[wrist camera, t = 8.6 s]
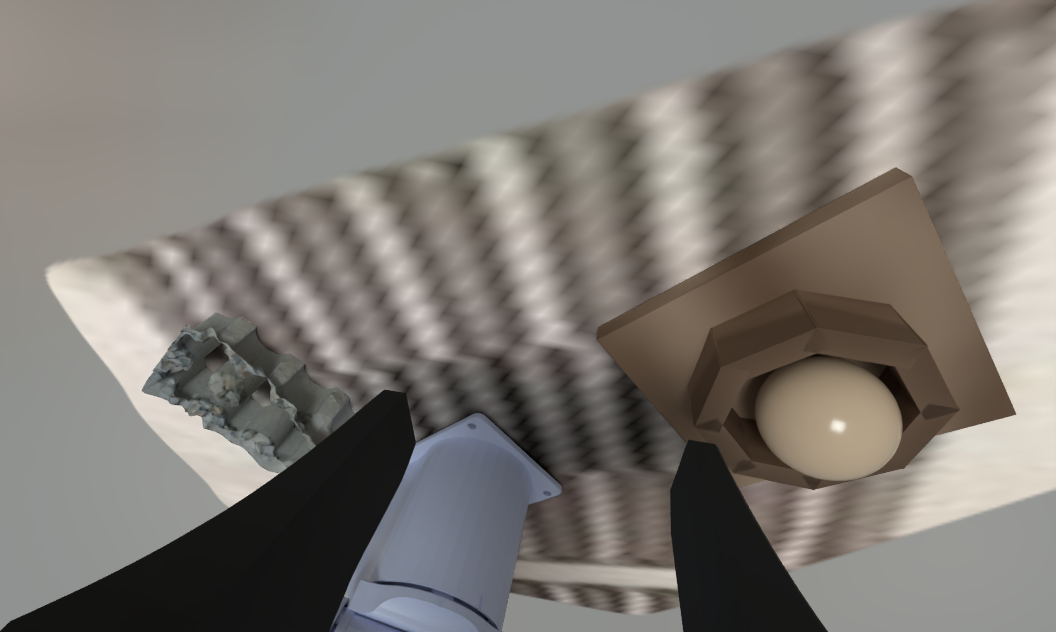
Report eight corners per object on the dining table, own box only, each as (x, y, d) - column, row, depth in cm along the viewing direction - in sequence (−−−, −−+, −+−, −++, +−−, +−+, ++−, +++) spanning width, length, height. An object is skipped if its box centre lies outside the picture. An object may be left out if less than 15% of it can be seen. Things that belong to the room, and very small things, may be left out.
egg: (764, 427, 20) (816, 521, 16) (718, 370, 18) (765, 461, 14) (867, 381, 18) (953, 474, 15) (829, 312, 16) (915, 398, 13)
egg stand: (724, 474, 24) (736, 534, 21) (598, 327, 20) (592, 377, 17) (999, 396, 18) (1067, 466, 15) (895, 167, 14) (961, 204, 11)
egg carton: (374, 409, 28) (340, 462, 24) (317, 445, 31) (280, 496, 28) (228, 292, 24) (165, 336, 21) (183, 349, 28) (123, 393, 25)
